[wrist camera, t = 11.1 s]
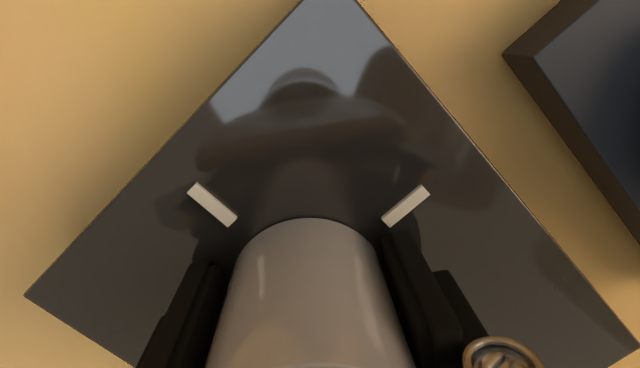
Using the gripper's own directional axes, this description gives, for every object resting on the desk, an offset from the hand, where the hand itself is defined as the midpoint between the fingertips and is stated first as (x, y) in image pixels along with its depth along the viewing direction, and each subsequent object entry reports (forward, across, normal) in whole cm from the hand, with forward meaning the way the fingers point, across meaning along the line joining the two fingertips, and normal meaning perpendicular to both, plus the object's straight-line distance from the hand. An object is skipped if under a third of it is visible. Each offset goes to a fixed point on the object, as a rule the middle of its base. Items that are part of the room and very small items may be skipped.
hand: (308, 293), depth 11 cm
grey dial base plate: (+3, -1, +2) cm, 4 cm away
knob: (0, 0, 0) cm, 0 cm away
